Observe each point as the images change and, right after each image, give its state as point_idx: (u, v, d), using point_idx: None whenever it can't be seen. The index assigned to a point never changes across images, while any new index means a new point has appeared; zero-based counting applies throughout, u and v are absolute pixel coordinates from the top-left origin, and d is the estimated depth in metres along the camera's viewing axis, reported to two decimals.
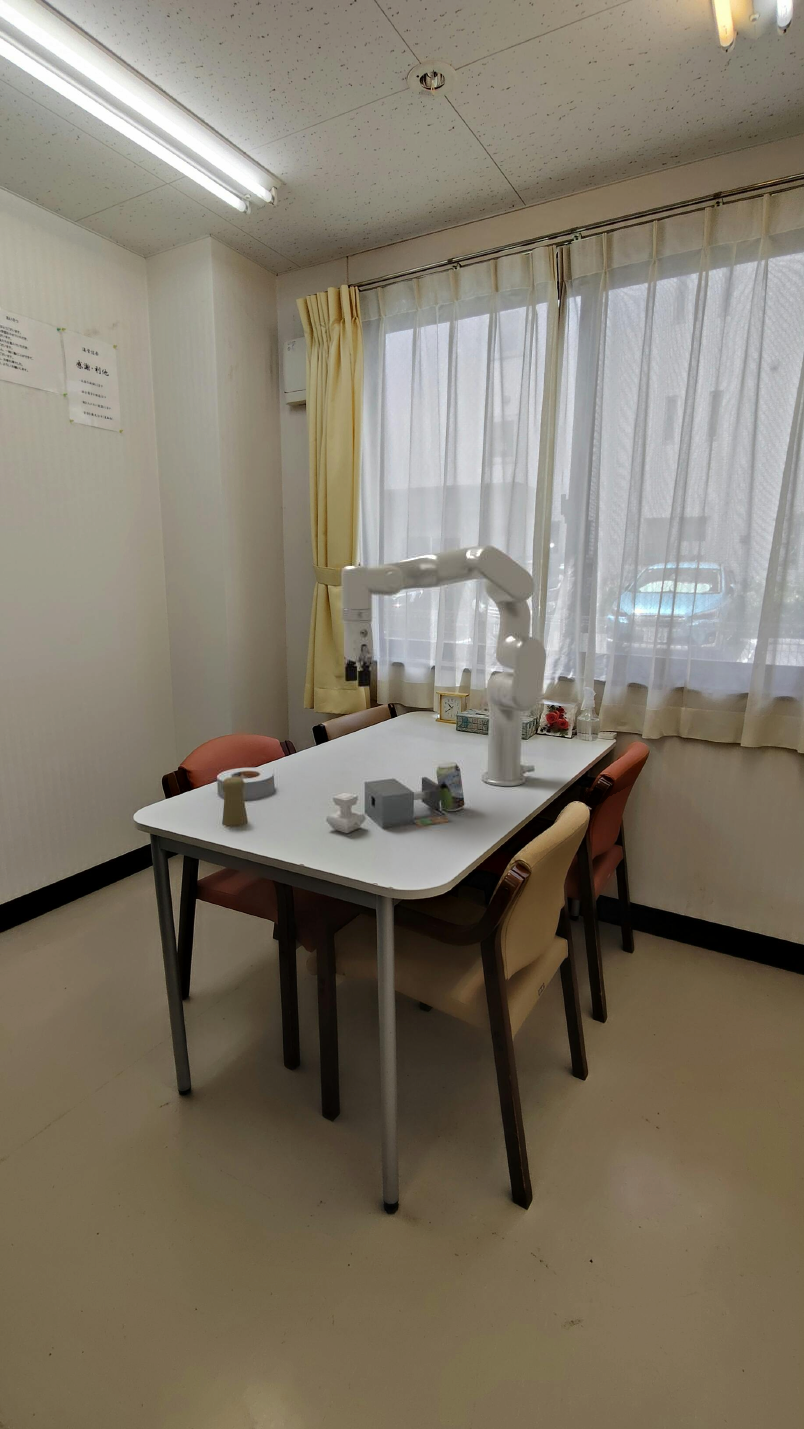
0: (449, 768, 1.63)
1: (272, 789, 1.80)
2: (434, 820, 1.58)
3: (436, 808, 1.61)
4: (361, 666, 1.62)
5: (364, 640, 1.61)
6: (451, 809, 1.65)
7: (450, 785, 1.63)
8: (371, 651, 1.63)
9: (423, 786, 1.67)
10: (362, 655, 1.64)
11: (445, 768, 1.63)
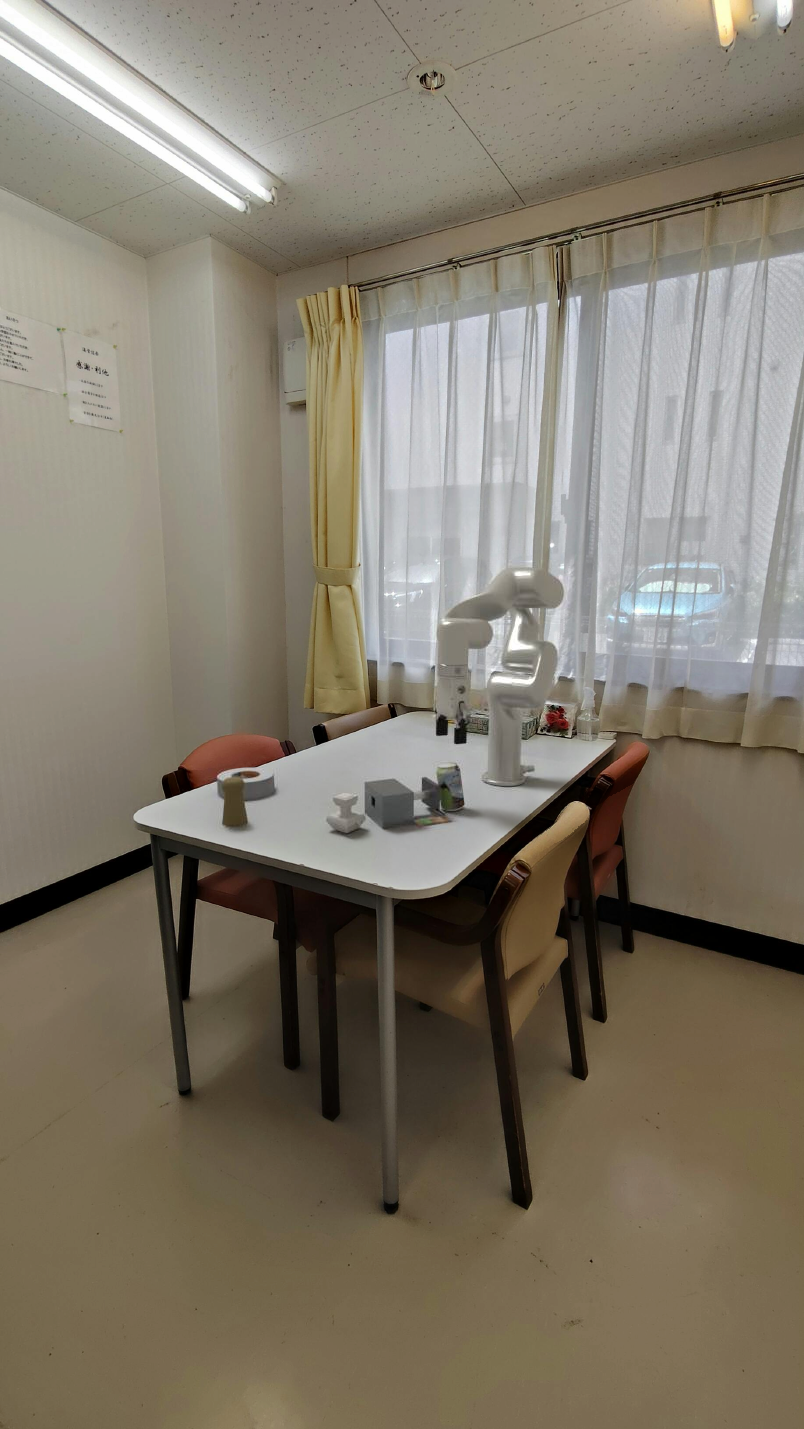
0: (449, 768, 1.63)
1: (272, 789, 1.80)
2: (434, 820, 1.58)
3: (436, 808, 1.61)
4: (458, 723, 1.57)
5: (461, 697, 1.57)
6: (451, 809, 1.65)
7: (450, 785, 1.63)
8: (468, 708, 1.58)
9: (423, 786, 1.67)
10: (458, 711, 1.59)
11: (445, 768, 1.63)
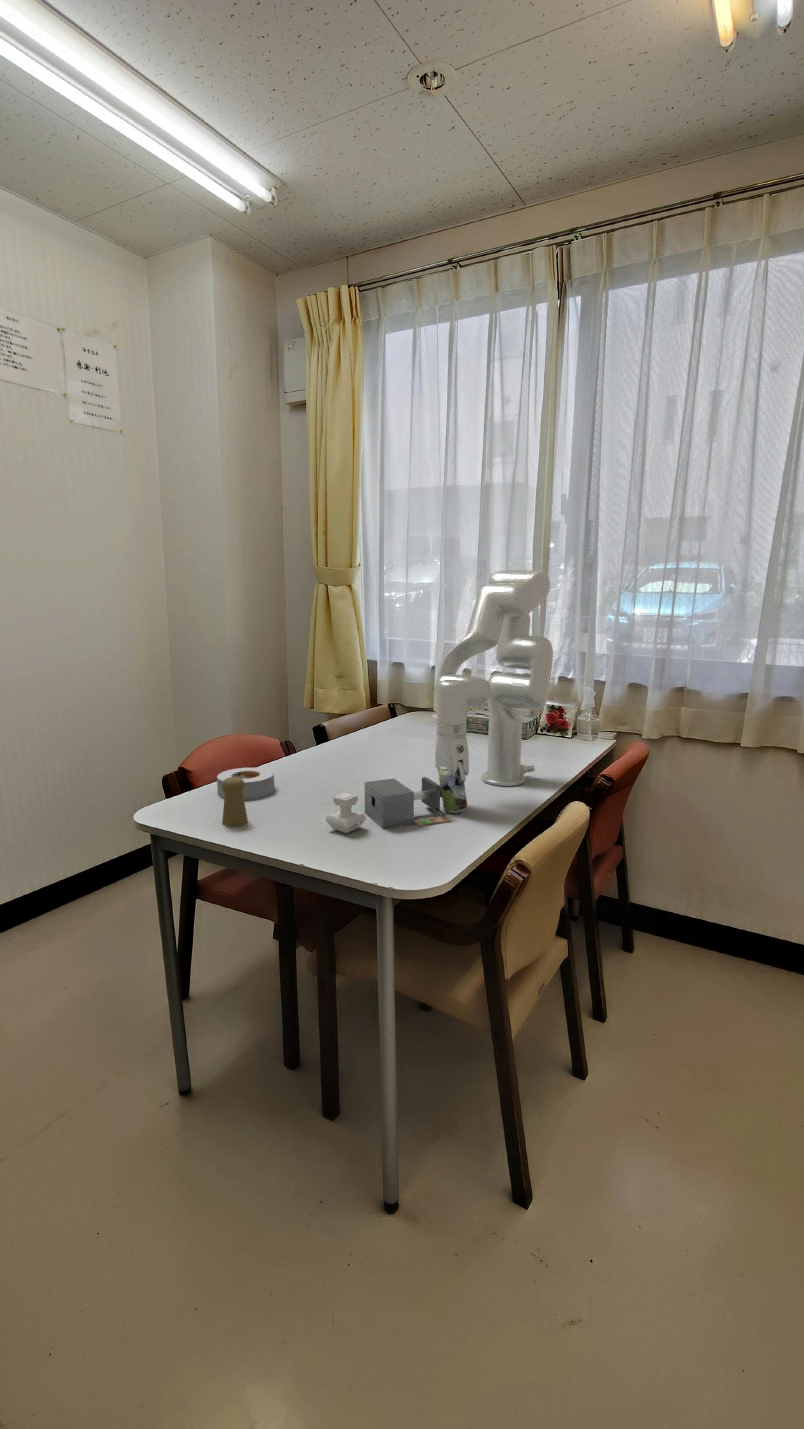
0: None
1: (272, 789, 1.80)
2: (434, 820, 1.58)
3: (436, 808, 1.61)
4: None
5: (460, 756, 1.60)
6: (454, 811, 1.63)
7: (453, 787, 1.62)
8: (467, 766, 1.61)
9: (423, 786, 1.67)
10: None
11: None
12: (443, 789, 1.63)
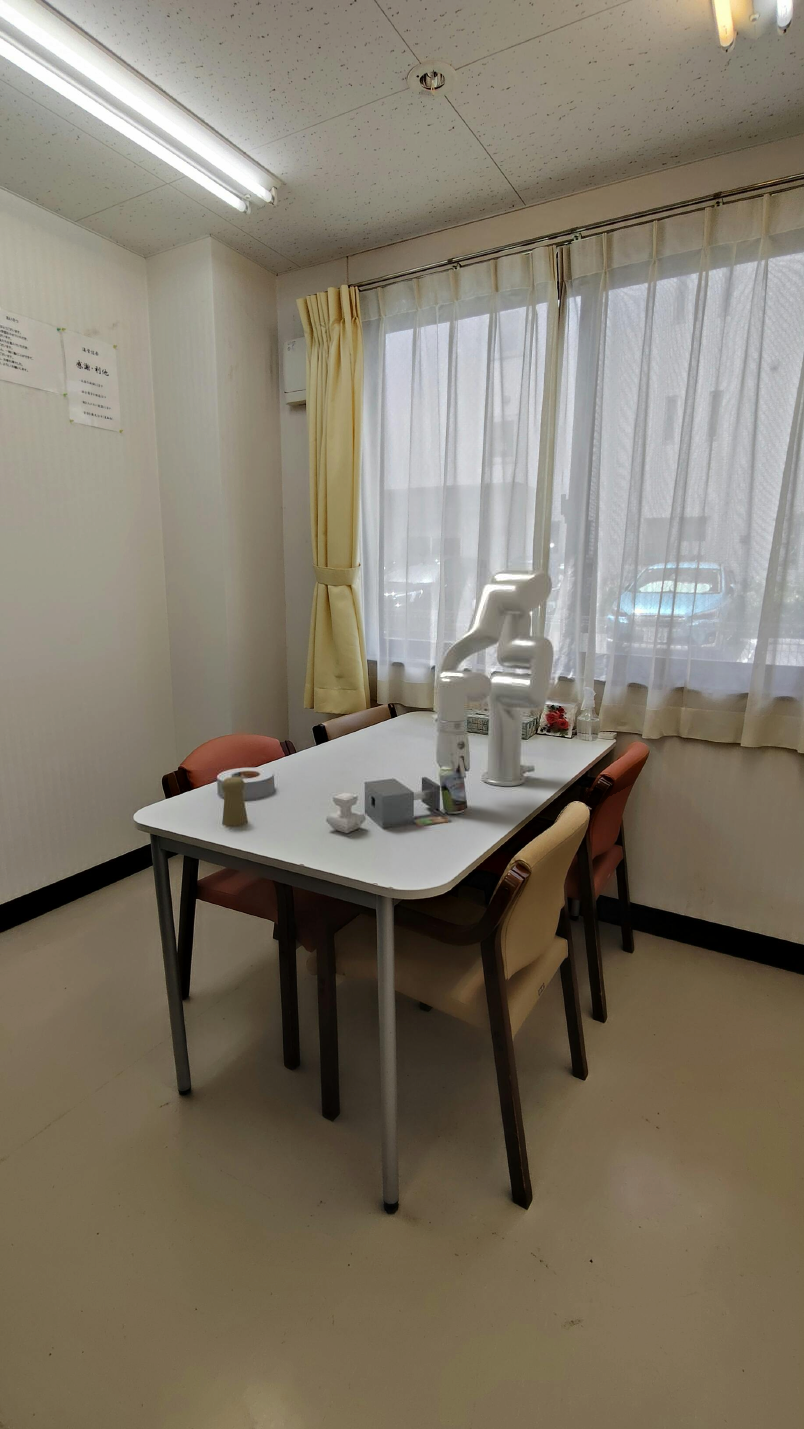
0: (450, 770, 1.61)
1: (272, 789, 1.80)
2: (434, 820, 1.58)
3: (436, 808, 1.61)
4: None
5: (461, 752, 1.60)
6: (451, 812, 1.63)
7: (450, 787, 1.61)
8: (468, 762, 1.61)
9: (423, 786, 1.67)
10: None
11: (446, 770, 1.62)
12: (442, 789, 1.63)
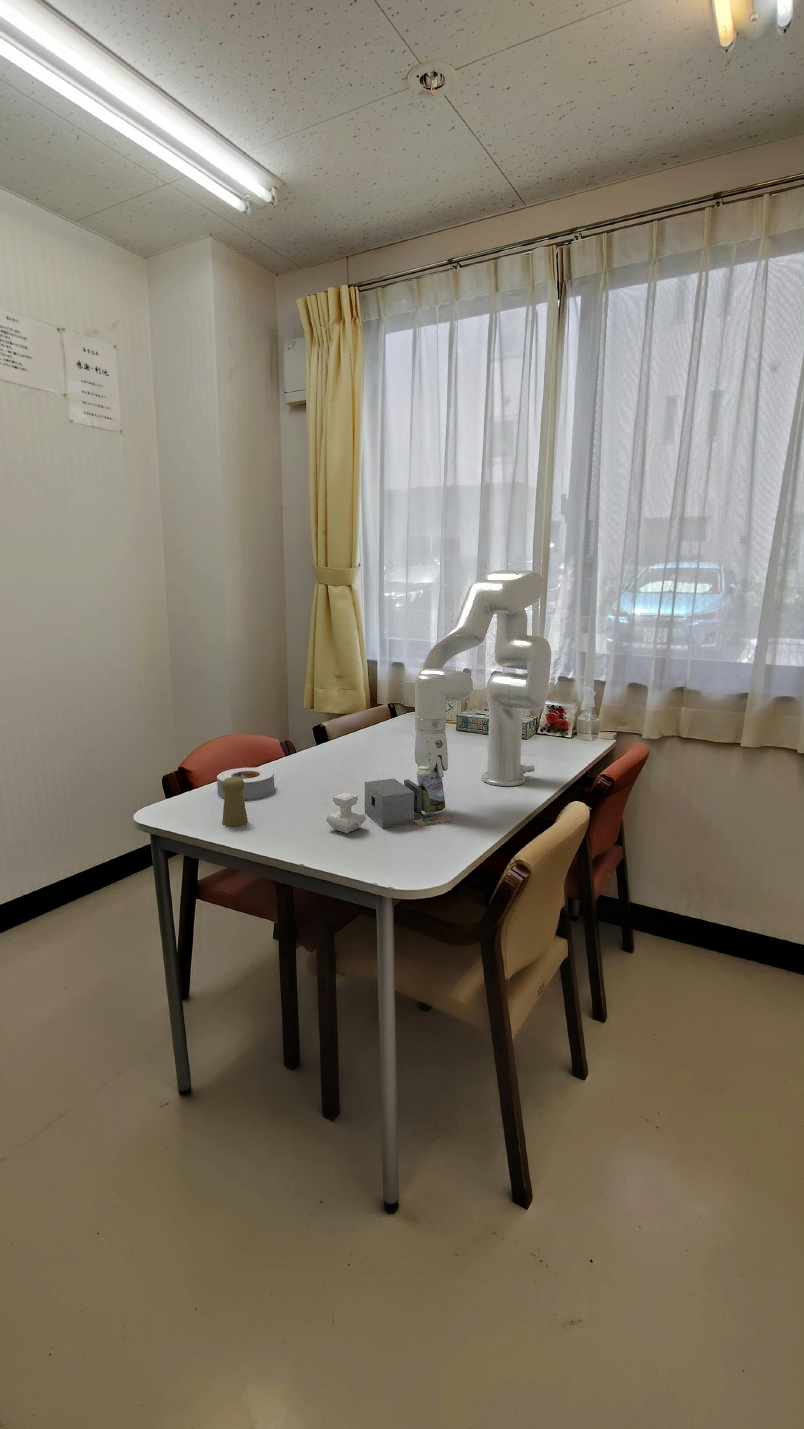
0: (427, 769, 1.59)
1: (272, 789, 1.80)
2: (434, 820, 1.58)
3: (418, 811, 1.59)
4: None
5: (439, 751, 1.57)
6: (429, 812, 1.60)
7: (428, 787, 1.59)
8: (446, 761, 1.59)
9: None
10: None
11: (423, 769, 1.59)
12: None
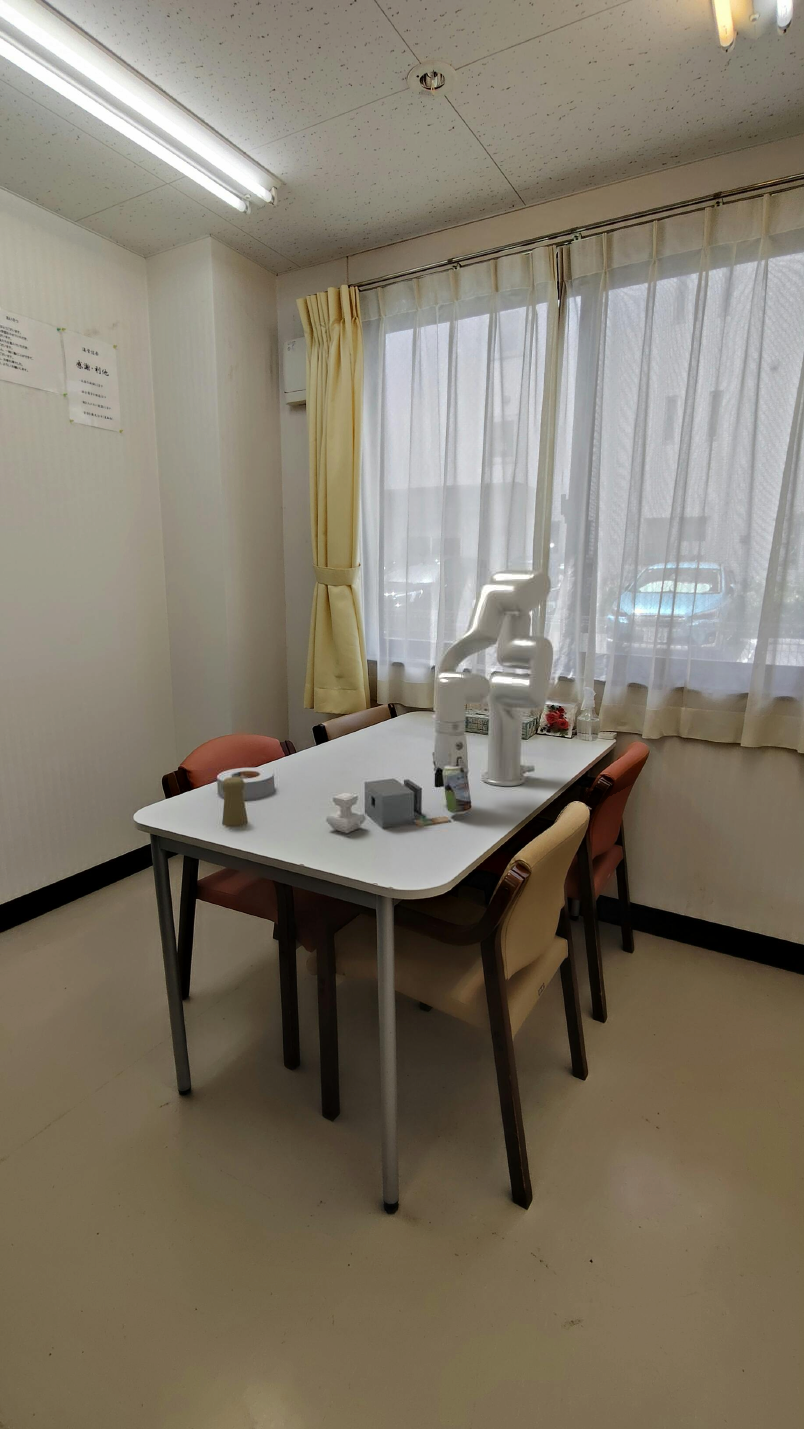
0: (453, 770, 1.58)
1: (272, 789, 1.80)
2: (434, 820, 1.58)
3: (418, 811, 1.59)
4: None
5: (459, 753, 1.60)
6: (455, 812, 1.59)
7: (454, 787, 1.58)
8: (466, 763, 1.61)
9: None
10: None
11: (449, 769, 1.58)
12: (445, 789, 1.60)
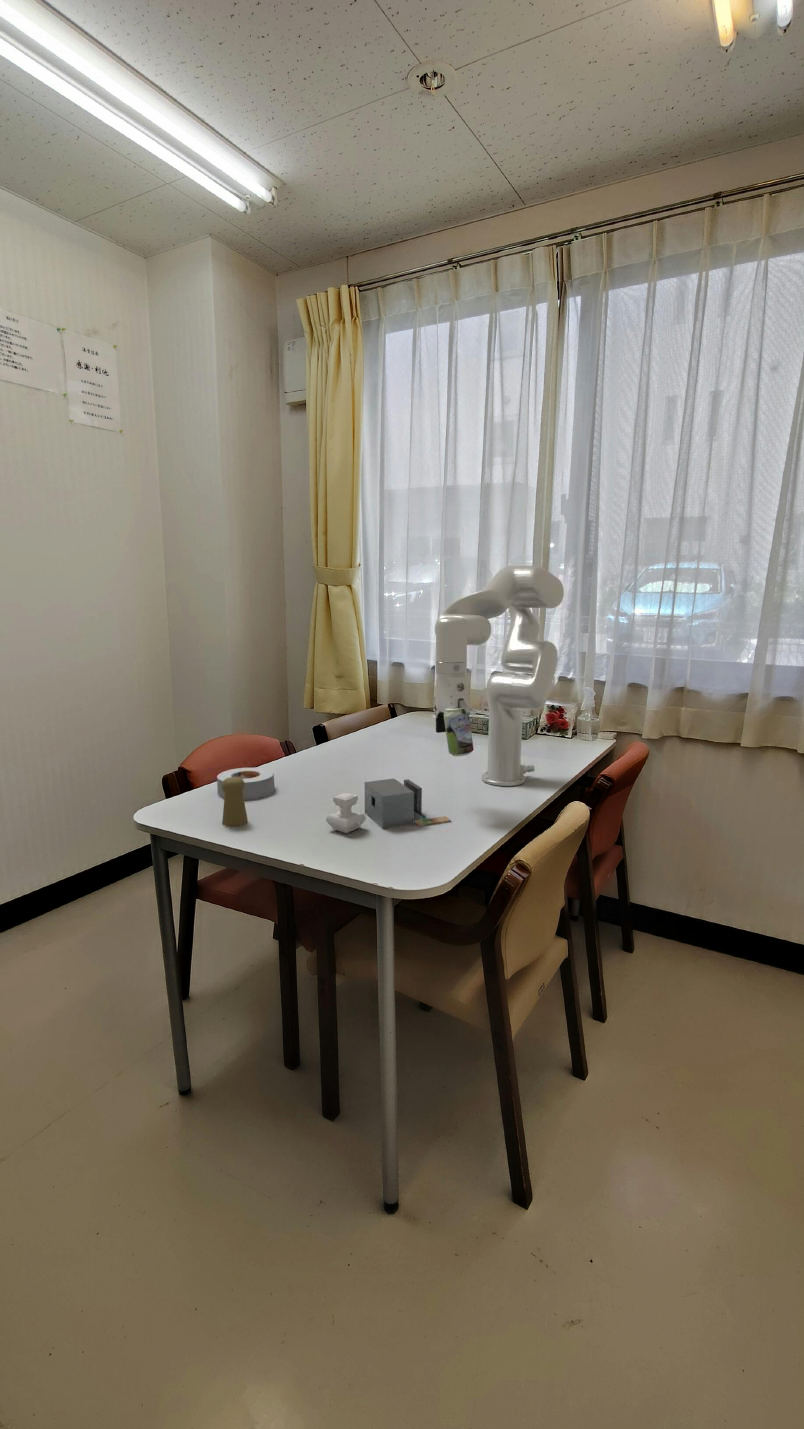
0: (455, 711, 1.55)
1: (272, 789, 1.80)
2: (434, 820, 1.58)
3: (418, 811, 1.59)
4: None
5: (460, 694, 1.57)
6: (457, 754, 1.57)
7: (456, 729, 1.55)
8: (467, 705, 1.58)
9: None
10: None
11: (451, 711, 1.55)
12: (447, 731, 1.57)
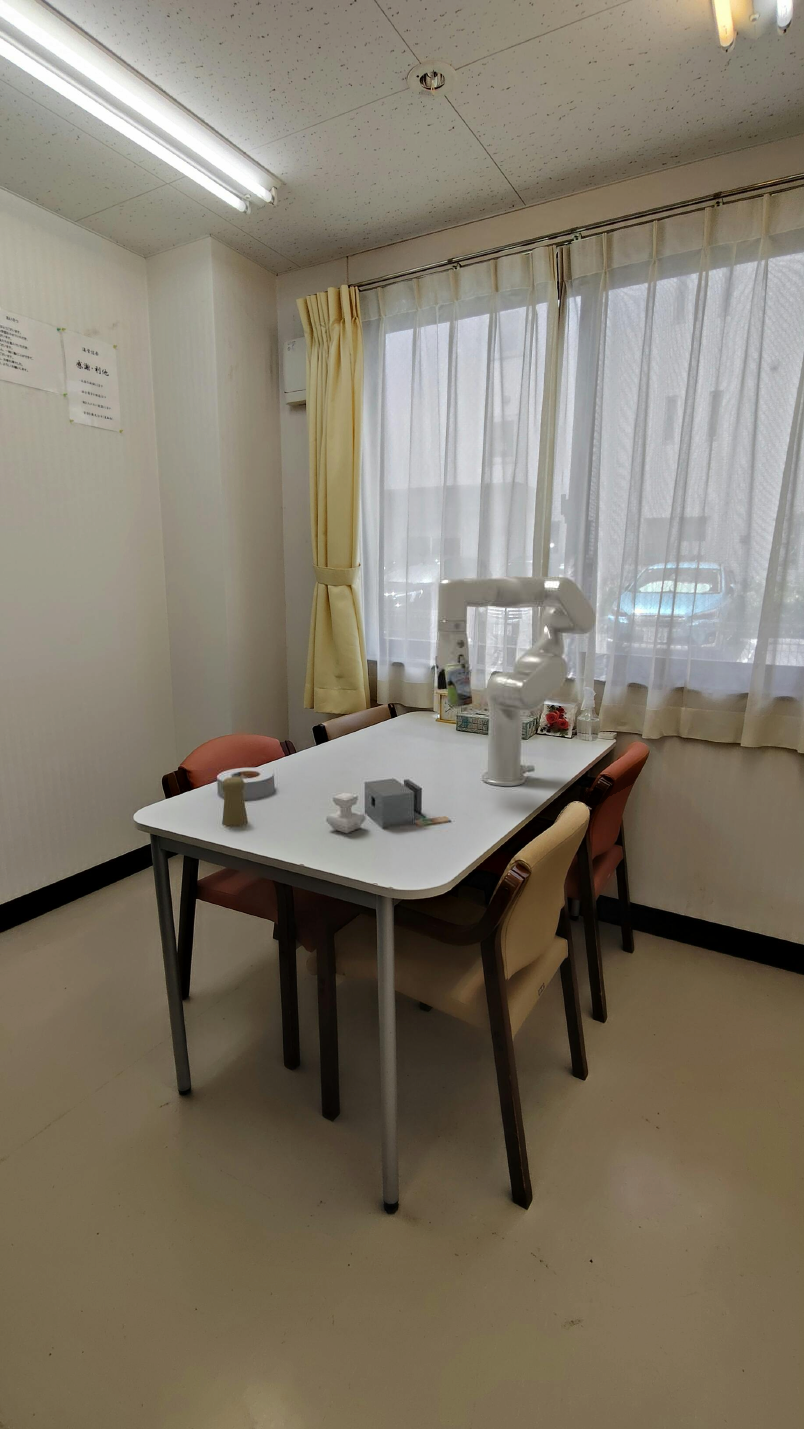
0: (455, 665, 1.66)
1: (272, 789, 1.80)
2: (434, 820, 1.58)
3: (418, 811, 1.59)
4: None
5: (461, 650, 1.68)
6: (457, 706, 1.68)
7: (456, 682, 1.66)
8: (467, 661, 1.70)
9: None
10: None
11: (451, 665, 1.67)
12: (448, 685, 1.68)
